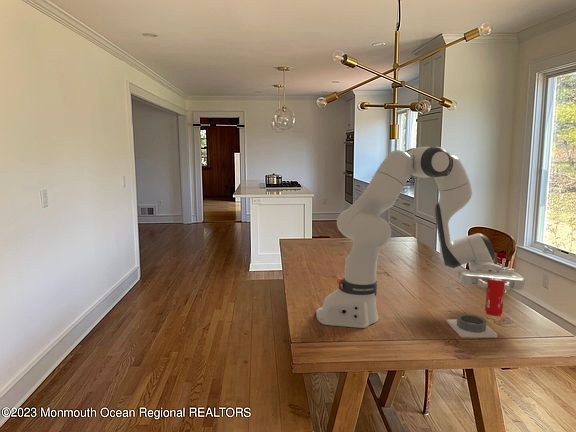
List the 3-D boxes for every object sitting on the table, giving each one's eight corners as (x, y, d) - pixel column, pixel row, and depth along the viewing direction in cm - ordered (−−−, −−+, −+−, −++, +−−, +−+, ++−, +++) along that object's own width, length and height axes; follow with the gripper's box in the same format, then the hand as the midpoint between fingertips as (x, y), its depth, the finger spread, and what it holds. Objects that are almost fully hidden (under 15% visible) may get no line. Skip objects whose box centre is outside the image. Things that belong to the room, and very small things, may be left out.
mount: (461, 337, 139) (462, 327, 138) (446, 322, 150) (447, 312, 150) (497, 337, 139) (498, 327, 138) (480, 322, 151) (480, 312, 150)
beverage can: (487, 311, 145) (490, 276, 144) (504, 314, 141) (506, 279, 140) (482, 313, 141) (485, 278, 140) (499, 317, 137) (501, 281, 137)
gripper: (457, 263, 155) (463, 274, 141) (518, 269, 150) (530, 280, 136) (455, 280, 156) (461, 292, 142) (516, 286, 151) (528, 299, 138)
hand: (496, 286), depth 139 cm, fingers closed on beverage can, 5 cm apart
